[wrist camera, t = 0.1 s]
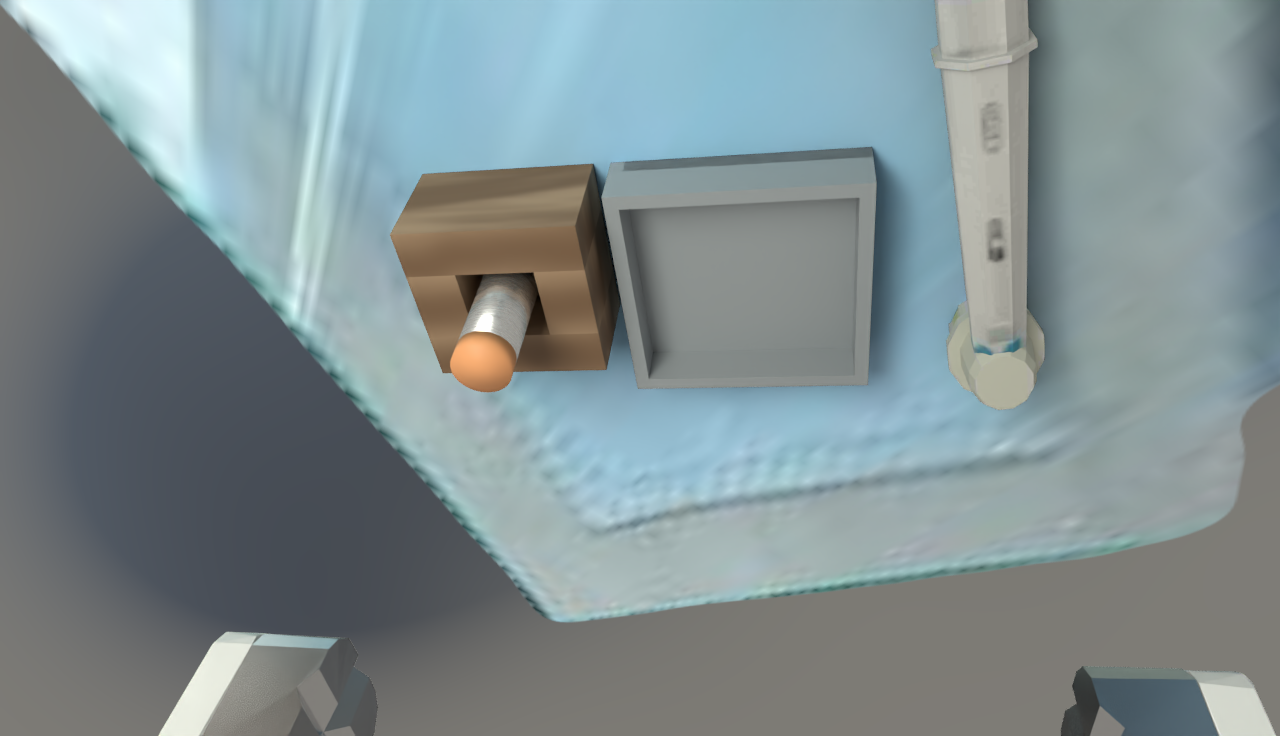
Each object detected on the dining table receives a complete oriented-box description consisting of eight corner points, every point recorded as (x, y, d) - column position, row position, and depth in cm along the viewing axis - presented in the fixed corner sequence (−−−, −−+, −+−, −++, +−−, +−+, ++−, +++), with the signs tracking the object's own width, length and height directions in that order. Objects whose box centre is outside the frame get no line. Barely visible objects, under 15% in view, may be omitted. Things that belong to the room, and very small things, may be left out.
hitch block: (422, 174, 53) (390, 234, 48) (592, 163, 51) (574, 225, 46) (468, 309, 59) (443, 373, 55) (619, 304, 57) (606, 369, 53)
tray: (610, 162, 51) (601, 197, 48) (871, 147, 48) (876, 182, 46) (644, 351, 60) (637, 388, 57) (864, 346, 58) (867, 385, 55)
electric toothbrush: (1053, -35, 38) (1060, 434, 51) (1023, -67, 43) (1036, 365, 56) (920, -5, 39) (961, 443, 52) (907, -40, 44) (947, 375, 58)
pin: (493, 220, 54) (442, 347, 46) (546, 218, 54) (503, 345, 46) (506, 264, 56) (459, 392, 48) (556, 262, 56) (517, 391, 48)
